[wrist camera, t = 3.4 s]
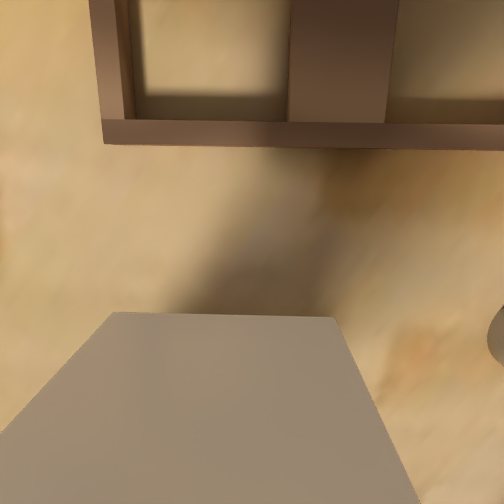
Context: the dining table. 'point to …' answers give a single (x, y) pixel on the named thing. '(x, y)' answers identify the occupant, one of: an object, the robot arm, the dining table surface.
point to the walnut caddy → (289, 88)
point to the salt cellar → (497, 337)
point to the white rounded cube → (204, 418)
